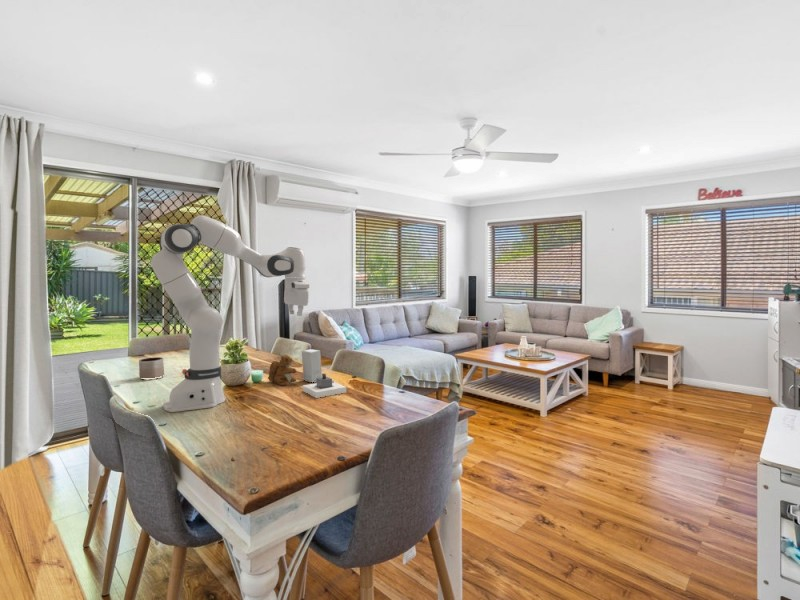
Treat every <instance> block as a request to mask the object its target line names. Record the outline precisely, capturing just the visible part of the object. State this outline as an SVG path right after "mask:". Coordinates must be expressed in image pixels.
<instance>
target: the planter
mask: <svg viewBox="0 0 800 600" xmlns="http://www.w3.org/2000/svg"><path fill="white" fill-rule="evenodd" d="M164 365H165V363H164V357H157V356H156V357H154V356H153V357H146V358H141V359H139V360H138V371H139V372H138V373H139V374H138V376H139V379H140V378H155V377H160V376H163V375H164V376H165V366H164Z"/></svg>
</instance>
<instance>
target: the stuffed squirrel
mask: <svg viewBox="0 0 800 600" xmlns="http://www.w3.org/2000/svg"><path fill="white" fill-rule="evenodd" d="M278 359H279V361H278V360H274V361H272V362H271V363H270V366H269V371H268V376H267V380H268V381H269V382H270V383H271V384H276V385H279V386H289V384H290V383H292V381H293V382H296V381H297V378H296V377H293V376H292V374H296V373H297V370H296V368H294V367H291V365H292V364H293V363H294V360H293V358H292V357H291V356H290V355H288V354H284V355H281V356H278Z"/></svg>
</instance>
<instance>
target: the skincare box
mask: <svg viewBox="0 0 800 600" xmlns="http://www.w3.org/2000/svg"><path fill="white" fill-rule="evenodd" d="M301 360H302V362H301V363H302V375H303V377H302V378H303V381H304V380H305V381H304V382H309V383H311V382H312V383H311V384H314V383H317V380H316V378H321V377H322V374H323V373H322V357H321V350H319V349H313V348H312V349H305V350H301ZM313 382H314V383H313Z"/></svg>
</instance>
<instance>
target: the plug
mask: <svg viewBox="0 0 800 600" xmlns="http://www.w3.org/2000/svg"><path fill="white" fill-rule="evenodd" d="M316 380H317V382H316V383H317V388H319V389H324V388H329V387H332V380H333V378H331V377H330V376H329V377H328V376H327V373H322V377H321V378H316Z"/></svg>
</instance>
